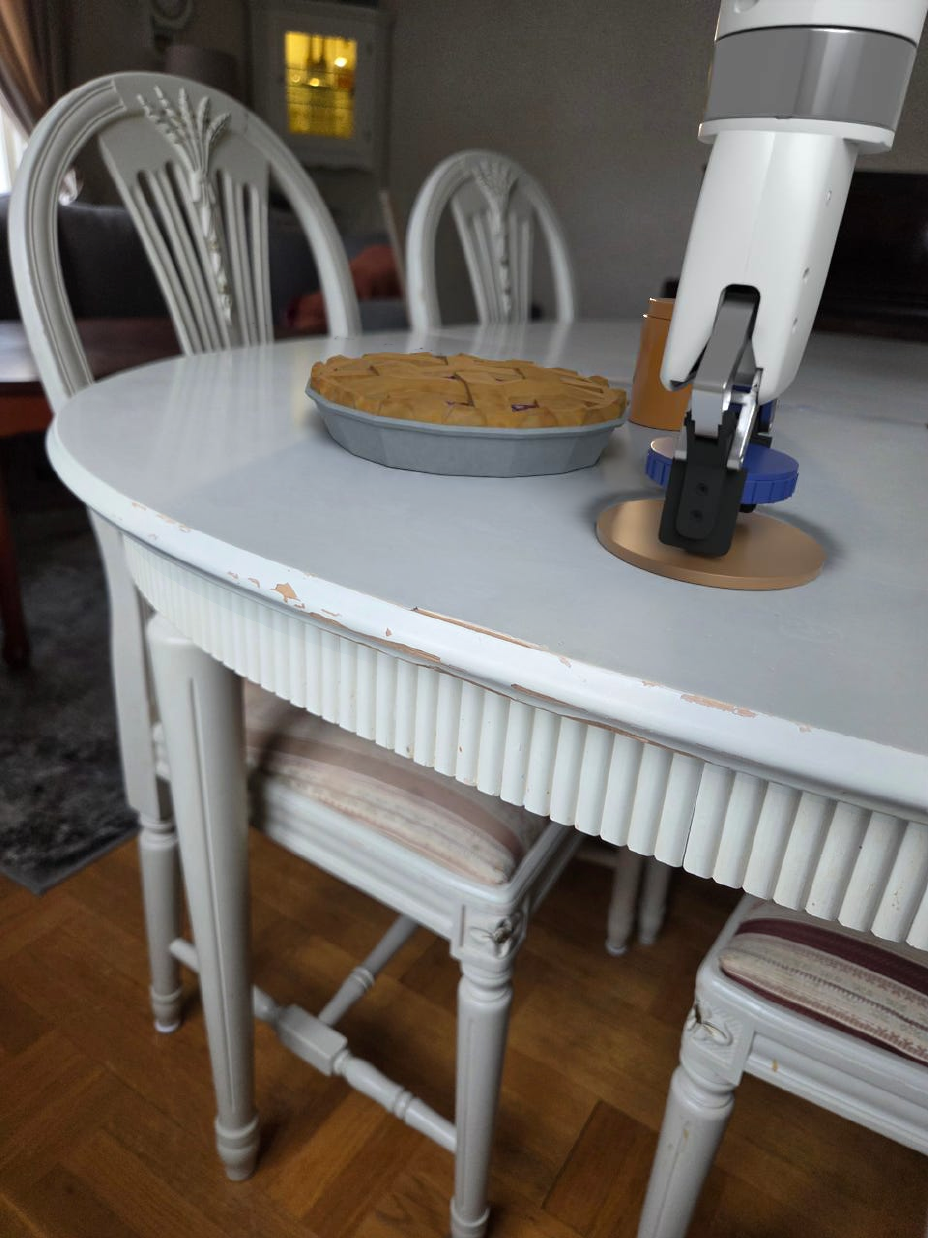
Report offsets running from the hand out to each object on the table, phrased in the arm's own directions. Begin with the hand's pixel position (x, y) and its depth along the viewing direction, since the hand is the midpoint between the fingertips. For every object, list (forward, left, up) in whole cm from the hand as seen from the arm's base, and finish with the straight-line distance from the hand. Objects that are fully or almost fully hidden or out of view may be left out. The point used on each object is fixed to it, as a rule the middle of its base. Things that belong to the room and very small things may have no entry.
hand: (709, 523), depth 41 cm
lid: (0, 0, +3) cm, 3 cm away
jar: (+9, -28, -1) cm, 30 cm away
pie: (+19, -11, -1) cm, 22 cm away
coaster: (0, 0, -1) cm, 1 cm away
